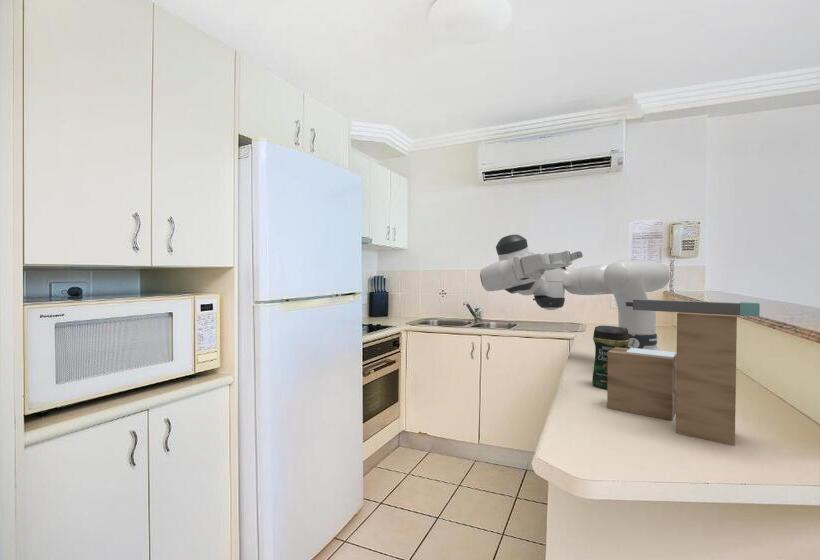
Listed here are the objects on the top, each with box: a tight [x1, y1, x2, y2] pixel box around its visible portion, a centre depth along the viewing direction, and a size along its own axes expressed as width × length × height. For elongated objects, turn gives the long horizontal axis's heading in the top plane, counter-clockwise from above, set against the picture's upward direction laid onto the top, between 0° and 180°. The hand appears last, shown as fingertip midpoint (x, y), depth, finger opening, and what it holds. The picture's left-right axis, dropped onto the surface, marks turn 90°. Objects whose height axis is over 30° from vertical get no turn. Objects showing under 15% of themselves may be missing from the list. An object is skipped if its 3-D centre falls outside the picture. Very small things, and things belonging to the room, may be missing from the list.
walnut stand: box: [606, 312, 738, 446], centre depth 95 cm, size 16×26×26 cm, turn 51°
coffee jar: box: [591, 325, 629, 390], centre depth 122 cm, size 10×8×19 cm
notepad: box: [626, 348, 677, 359], centre depth 100 cm, size 7×10×1 cm
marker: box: [626, 299, 761, 317], centre depth 89 cm, size 3×24×3 cm, turn 51°
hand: (575, 253), depth 109 cm, fingers open, 8 cm apart
